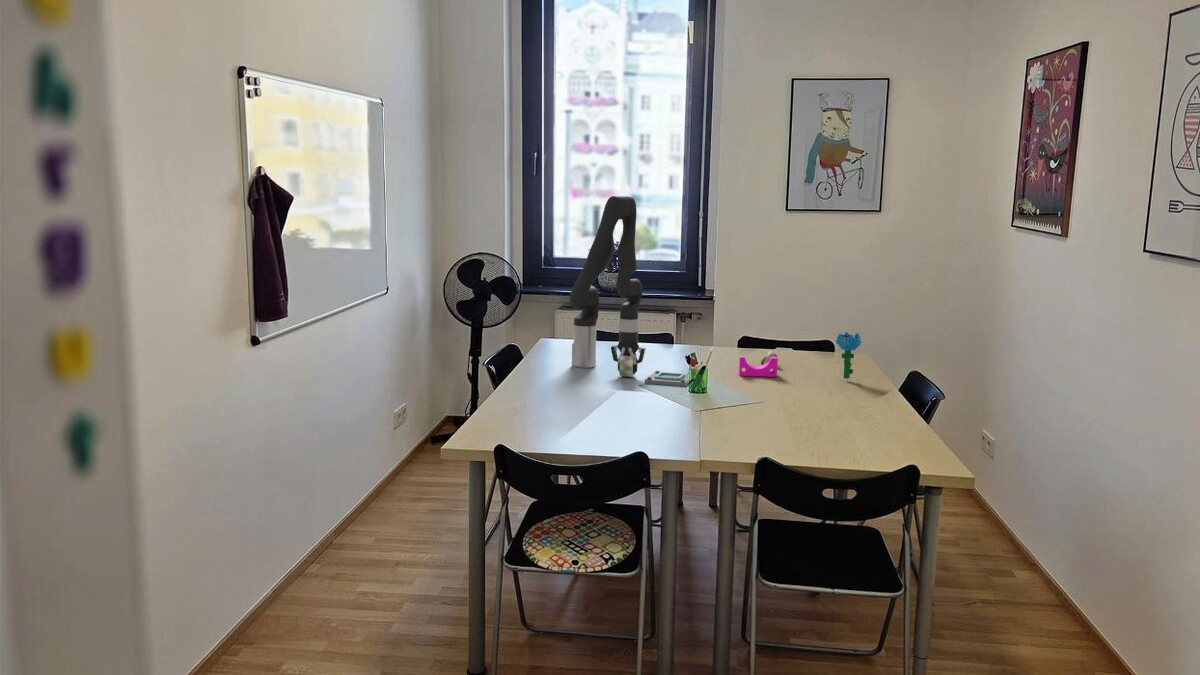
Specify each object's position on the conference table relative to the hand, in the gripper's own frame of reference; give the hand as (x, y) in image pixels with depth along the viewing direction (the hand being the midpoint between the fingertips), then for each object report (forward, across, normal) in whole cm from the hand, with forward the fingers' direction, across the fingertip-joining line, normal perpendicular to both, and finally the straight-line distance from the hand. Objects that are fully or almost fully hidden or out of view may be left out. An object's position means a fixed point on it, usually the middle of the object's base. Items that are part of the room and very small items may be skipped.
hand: (627, 372), depth 355 cm
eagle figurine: (-1, +52, +49) cm, 71 cm away
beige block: (+1, 0, 0) cm, 1 cm away
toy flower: (+2, +83, +30) cm, 88 cm away
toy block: (+2, +48, +26) cm, 54 cm away
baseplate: (+2, +17, -1) cm, 17 cm away
